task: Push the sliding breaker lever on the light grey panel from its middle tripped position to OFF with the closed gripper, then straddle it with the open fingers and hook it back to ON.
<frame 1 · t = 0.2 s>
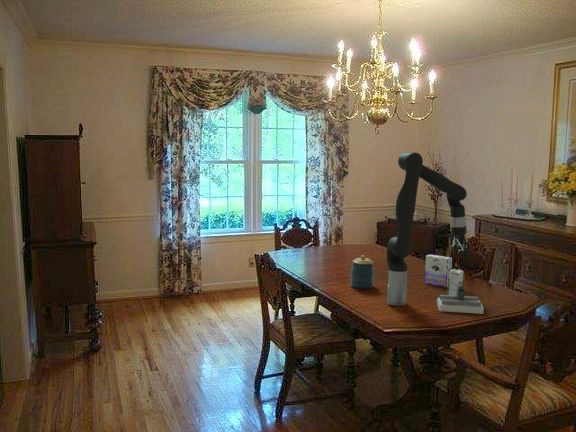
hand: (460, 255, 270), 22 cm above the table, tool pointing down, fingers open, 8 cm apart
canister: (362, 286, 294), on the table
breaker lever: (460, 293, 254), point 7 cm above the table, slide at 0.0 cm
candy box: (437, 285, 298), on the table
syrup box: (454, 298, 273), on the table
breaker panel: (459, 308, 255), on the table
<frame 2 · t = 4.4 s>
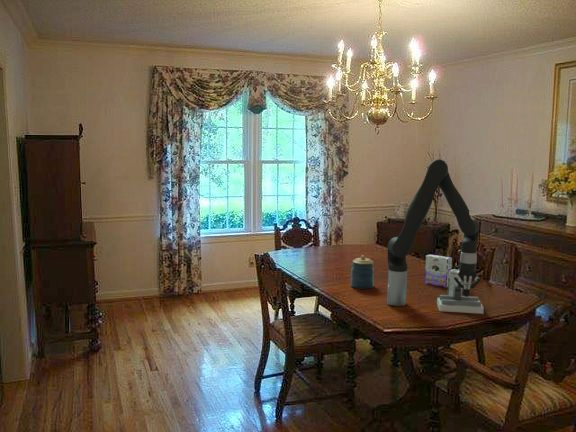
hand: (465, 296, 254), 6 cm above the table, tool pointing down, fingers closed
breaker lever: (457, 293, 255), point 7 cm above the table, slide at -1.6 cm, touching gripper
everything else where it was.
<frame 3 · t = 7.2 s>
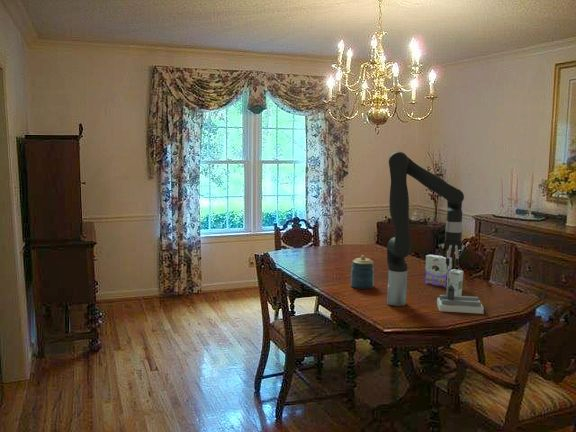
hand: (451, 265, 253), 21 cm above the table, tool pointing down, fingers open, 3 cm apart
breaker lever: (450, 293, 255), point 7 cm above the table, slide at -4.7 cm
everything else where it was.
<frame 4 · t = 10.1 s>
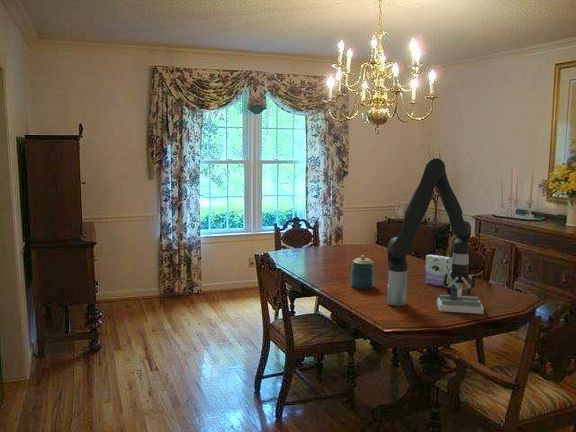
hand: (458, 295, 254), 7 cm above the table, tool pointing down, fingers open, 8 cm apart
breaker lever: (453, 293, 255), point 7 cm above the table, slide at -3.3 cm, touching gripper
everything else where it was.
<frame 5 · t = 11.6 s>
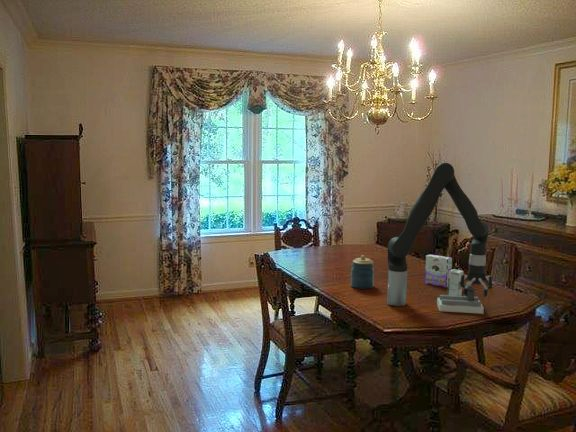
hand: (475, 296, 253), 7 cm above the table, tool pointing down, fingers open, 8 cm apart
breaker lever: (470, 294, 253), point 7 cm above the table, slide at 4.5 cm, touching gripper
everything else where it was.
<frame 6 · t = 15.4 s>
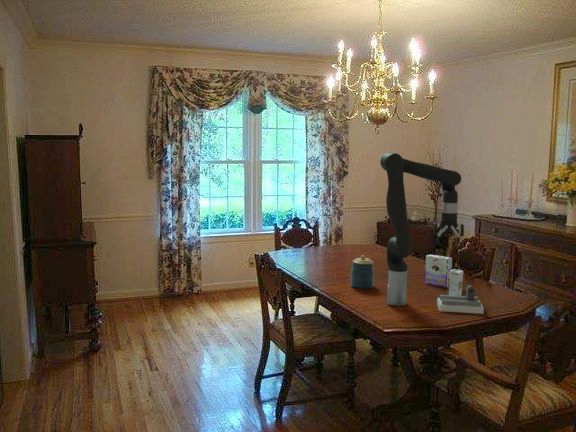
hand: (447, 244, 260), 30 cm above the table, tool pointing down, fingers open, 8 cm apart
breaker lever: (470, 294, 253), point 7 cm above the table, slide at 4.5 cm
everything else where it was.
at the end: breaker lever slide at 4.5 cm; syrup box moved 0.2 cm from its start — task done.
